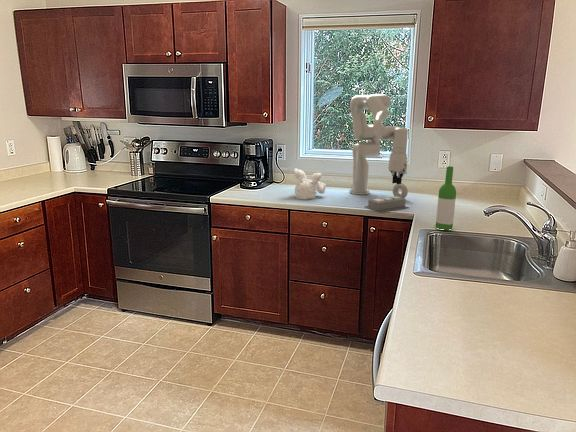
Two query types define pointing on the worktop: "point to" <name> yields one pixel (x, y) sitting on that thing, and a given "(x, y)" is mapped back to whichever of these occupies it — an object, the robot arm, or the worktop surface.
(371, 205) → the keypad
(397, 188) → the donut
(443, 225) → the wine bottle
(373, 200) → the key ivory
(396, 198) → the key sage
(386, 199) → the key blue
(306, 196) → the cream lumpy figurine
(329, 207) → the worktop surface
